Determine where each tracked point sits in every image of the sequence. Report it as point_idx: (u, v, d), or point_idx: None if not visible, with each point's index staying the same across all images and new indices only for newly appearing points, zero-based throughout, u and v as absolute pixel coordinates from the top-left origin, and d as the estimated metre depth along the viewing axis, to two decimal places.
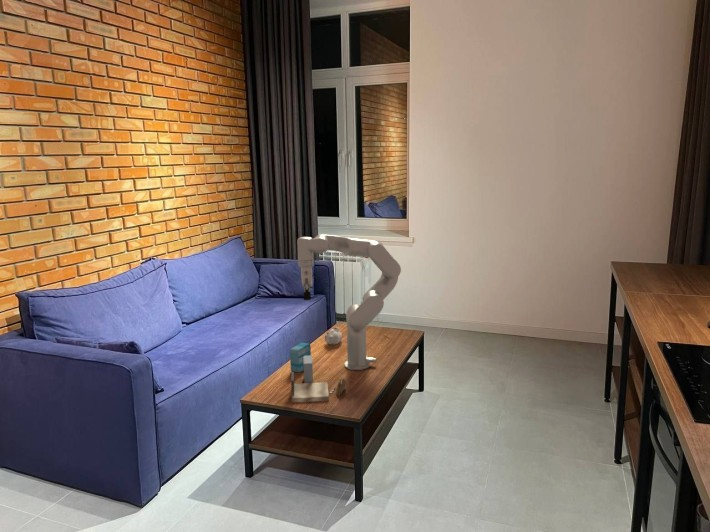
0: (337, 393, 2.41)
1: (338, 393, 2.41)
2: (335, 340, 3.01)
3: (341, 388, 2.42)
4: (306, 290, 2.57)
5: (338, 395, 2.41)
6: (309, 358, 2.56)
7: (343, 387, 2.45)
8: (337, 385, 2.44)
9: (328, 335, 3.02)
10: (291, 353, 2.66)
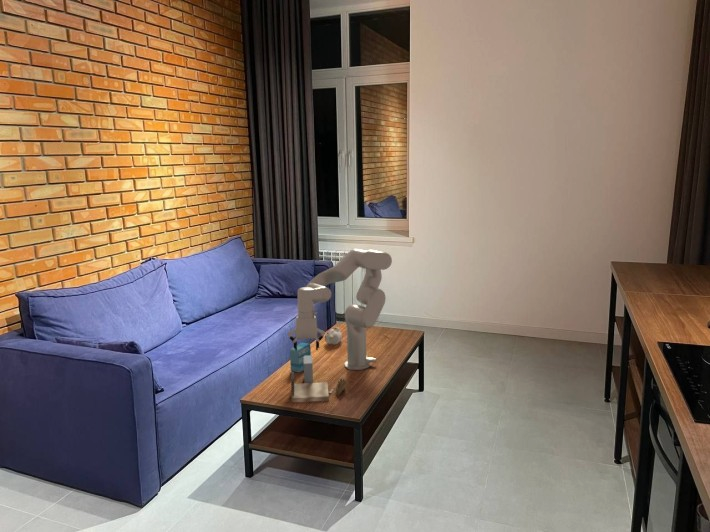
0: (336, 393, 2.41)
1: (337, 393, 2.41)
2: (335, 340, 3.01)
3: (340, 388, 2.42)
4: None
5: (337, 395, 2.41)
6: (309, 358, 2.56)
7: (343, 387, 2.45)
8: (337, 385, 2.44)
9: (328, 335, 3.02)
10: (291, 353, 2.66)
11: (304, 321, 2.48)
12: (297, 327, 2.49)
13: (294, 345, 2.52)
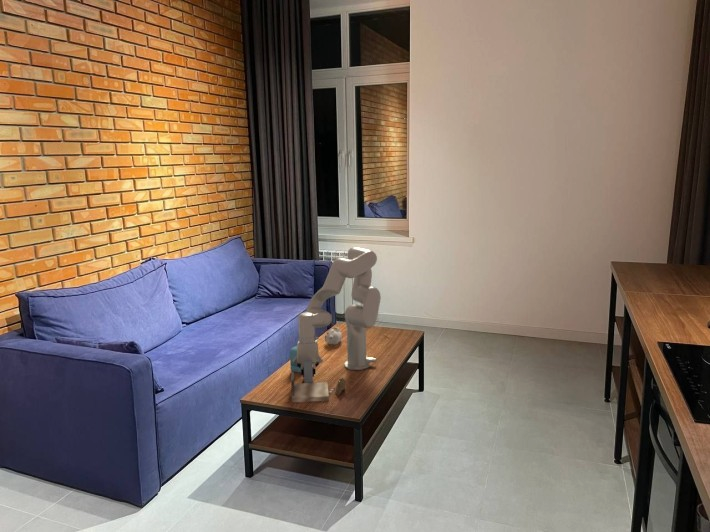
0: (336, 392, 2.42)
1: (337, 392, 2.41)
2: (335, 340, 3.01)
3: (340, 387, 2.42)
4: None
5: (337, 394, 2.41)
6: None
7: (342, 386, 2.45)
8: None
9: (328, 335, 3.02)
10: (291, 353, 2.66)
11: (305, 346, 2.51)
12: (298, 352, 2.52)
13: (301, 372, 2.55)
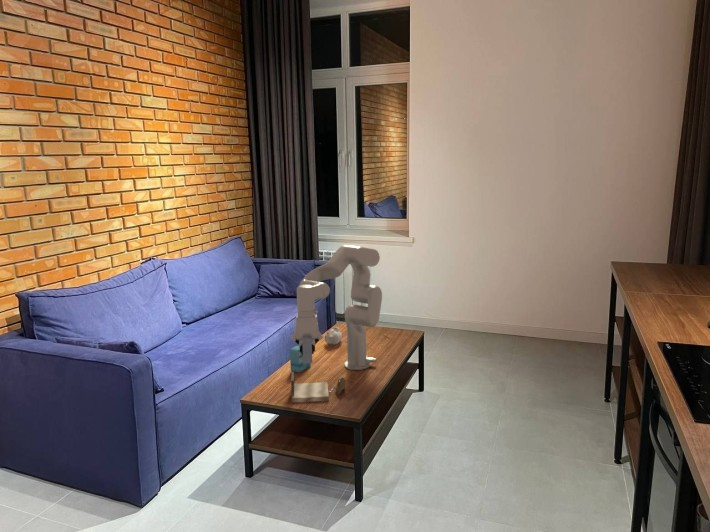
0: (336, 392, 2.42)
1: (337, 392, 2.42)
2: (335, 340, 3.01)
3: (340, 387, 2.43)
4: None
5: (337, 394, 2.42)
6: None
7: (342, 386, 2.46)
8: None
9: (328, 335, 3.02)
10: (291, 353, 2.66)
11: (304, 320, 2.34)
12: (297, 327, 2.35)
13: (300, 348, 2.38)
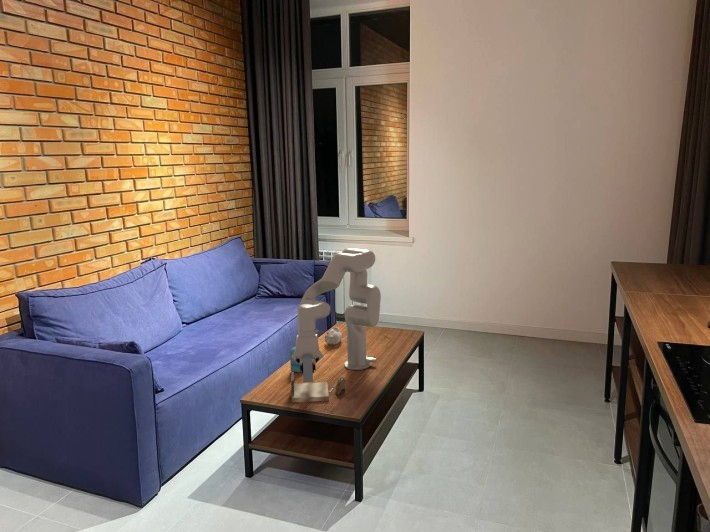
0: (336, 392, 2.42)
1: (337, 392, 2.42)
2: (335, 340, 3.01)
3: (340, 387, 2.43)
4: None
5: (337, 394, 2.42)
6: None
7: (342, 386, 2.46)
8: None
9: (328, 335, 3.02)
10: (291, 353, 2.66)
11: (305, 340, 2.36)
12: (298, 346, 2.36)
13: (300, 367, 2.40)
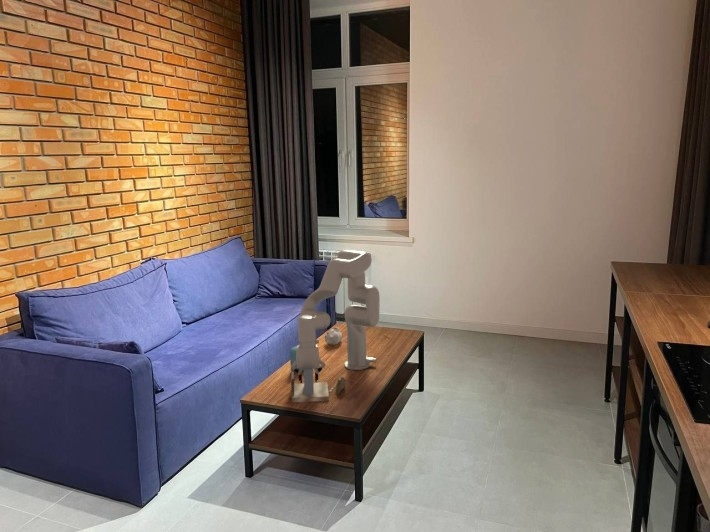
0: (336, 391, 2.43)
1: (337, 391, 2.42)
2: (335, 340, 3.01)
3: (340, 386, 2.43)
4: None
5: (337, 393, 2.42)
6: None
7: (342, 386, 2.46)
8: None
9: (328, 335, 3.02)
10: (291, 353, 2.66)
11: (305, 350, 2.37)
12: (298, 357, 2.37)
13: (299, 377, 2.41)
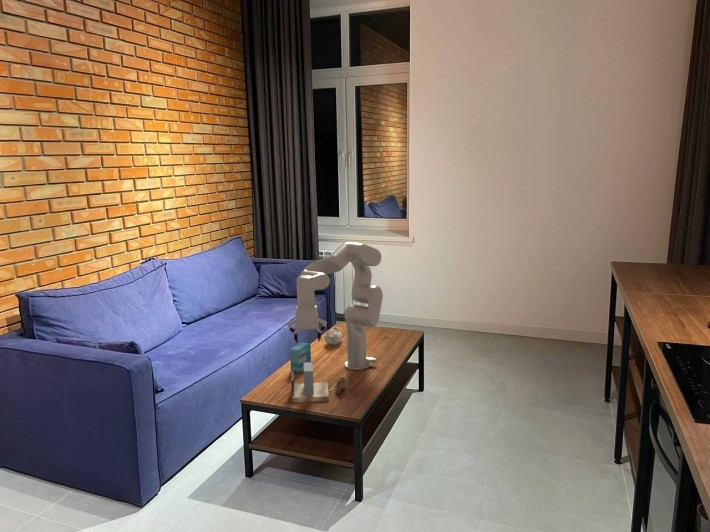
0: (336, 391, 2.43)
1: (337, 391, 2.43)
2: (335, 340, 3.01)
3: (340, 386, 2.43)
4: None
5: (337, 393, 2.43)
6: (309, 365, 2.42)
7: (342, 385, 2.47)
8: None
9: (328, 335, 3.02)
10: (291, 353, 2.66)
11: (304, 311, 2.34)
12: (297, 318, 2.35)
13: (295, 337, 2.38)
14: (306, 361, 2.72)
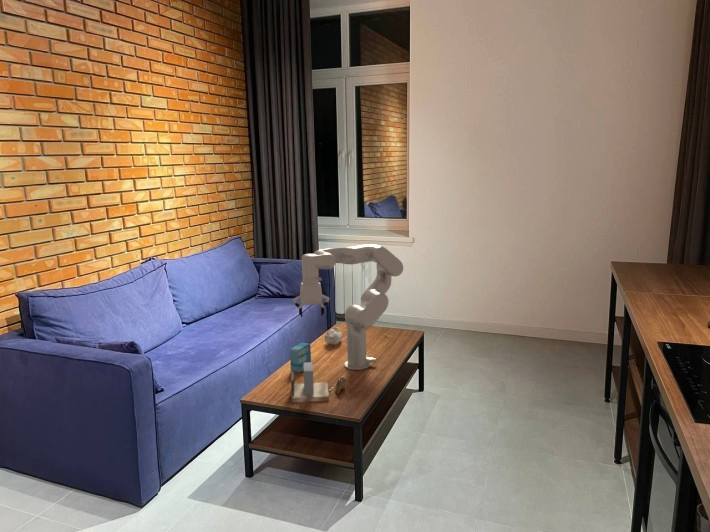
0: (336, 391, 2.43)
1: (337, 391, 2.43)
2: (335, 340, 3.01)
3: (340, 386, 2.44)
4: None
5: (337, 393, 2.43)
6: (309, 365, 2.42)
7: (342, 385, 2.47)
8: None
9: (328, 335, 3.02)
10: (291, 353, 2.66)
11: (309, 287, 2.51)
12: (302, 293, 2.52)
13: (299, 311, 2.55)
14: (306, 361, 2.72)
